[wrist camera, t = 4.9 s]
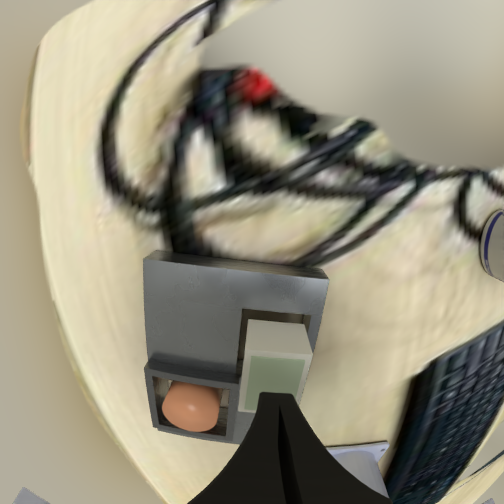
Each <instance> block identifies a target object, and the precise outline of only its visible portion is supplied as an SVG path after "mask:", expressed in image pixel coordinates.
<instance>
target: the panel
mask: <svg viewBox="0 0 504 504" xmlns="http://www.w3.org/2000/svg"><path fill="white" fill-rule="evenodd" d="M143 281H144V311H145V329H146V343H147V354H148V362H147V364H146V365H145V367H144V372H145V380H146V387H147V394H148V400H149V406H150V412H151V418H152V423H153V427H155V428H158V430H159V431H163V432H167V433H172V434H177V435H181V436H186V437H192V438H197V439H203V440H210V441H217V442H224V443H233V444H241V443H242V441H243V439H244V437H245V436H246V434H247V432H248V430H249V428H250V426H251V423H252V421H253V418H254V416H255V413H251V412H240V411H238V406H239V397H240V388H241V378H242V370H243V361H244V360H239V359H238V350H239V340H240V330H241V320H242V311H243V308H244V309H253V310H263V311H273V312H283V313H294V314H304V316H303V321H302V324H304V325H305V329H306V332H307V336H308V339H309V343H310V346H311V350H312V353H313V352H314V348H315V344H316V340H317V336H318V331H319V327H320V323H321V318H322V313H323V309H324V304H325V299H326V294H327V289H328V284H329V279H328V277H327V276H326V274H325V273H324V271H323V270H322V269H317V268H308V267H298V266H289V265H279V264H270V263H261V262H252V261H243V260H234V259H225V258H216V257H207V256H199V255H190V254H182V253H173V252H165V251H154V252H153V253H151V254H150V255H148V256H147V257H145V258H144V259H143ZM168 379H170V380H175V381H180V382H185V383H191V384H197V385H203V386H210V387H216V388H224V389H230V395H229V406H228V408H219V414H218V419H217V423H216V425H215V426H214V427H213V428H211V429H209V430H207V431H201V432H193V431H188V430H184V429H181V428H179V427H177V426H175V425H174V424H172V423H171V422H170V421H169V420H168V419H167V418H166V417H165V415H164V413H163V410H162V404H163V402H164V400H165V397H166V395H167V393H168V390H169V388H168Z"/></svg>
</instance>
